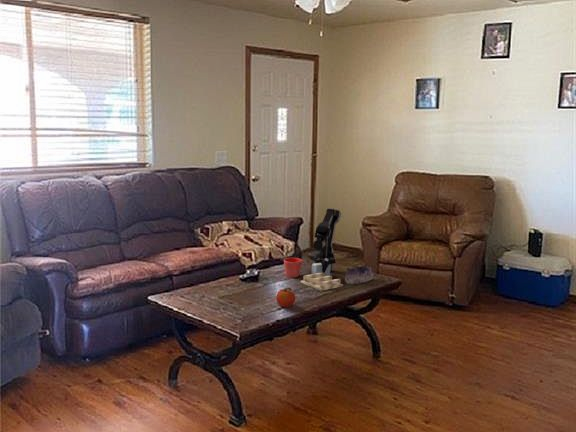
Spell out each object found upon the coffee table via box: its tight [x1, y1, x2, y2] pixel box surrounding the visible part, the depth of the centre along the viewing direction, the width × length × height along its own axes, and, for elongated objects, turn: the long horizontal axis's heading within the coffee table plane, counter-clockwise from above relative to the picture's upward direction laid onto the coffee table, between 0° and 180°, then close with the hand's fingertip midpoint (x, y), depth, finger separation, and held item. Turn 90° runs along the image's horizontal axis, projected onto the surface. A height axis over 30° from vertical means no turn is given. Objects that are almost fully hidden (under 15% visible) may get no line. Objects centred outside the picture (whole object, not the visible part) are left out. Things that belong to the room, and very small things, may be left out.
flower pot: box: [283, 257, 303, 278], centre depth 349 cm, size 11×11×10 cm
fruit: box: [275, 287, 296, 308], centre depth 295 cm, size 10×10×10 cm
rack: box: [300, 273, 344, 292], centre depth 335 cm, size 16×18×4 cm
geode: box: [344, 265, 374, 286], centre depth 344 cm, size 20×12×10 cm, turn 139°
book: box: [311, 262, 331, 277], centre depth 350 cm, size 11×4×8 cm, turn 127°
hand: (320, 272), depth 350 cm, fingers open, 4 cm apart
